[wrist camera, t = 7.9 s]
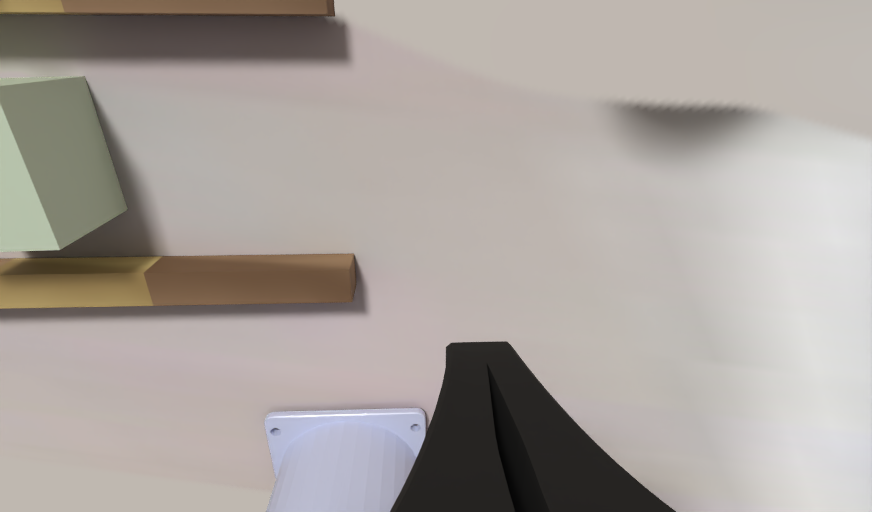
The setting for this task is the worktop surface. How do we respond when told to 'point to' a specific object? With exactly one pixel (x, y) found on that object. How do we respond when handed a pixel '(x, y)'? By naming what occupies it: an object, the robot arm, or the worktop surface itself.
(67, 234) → the block
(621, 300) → the worktop surface
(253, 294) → the twin wooden rails
